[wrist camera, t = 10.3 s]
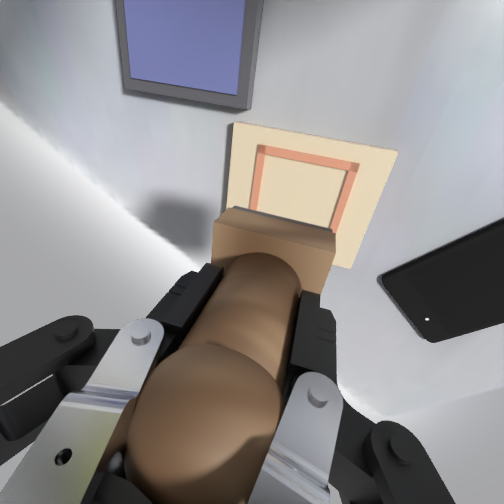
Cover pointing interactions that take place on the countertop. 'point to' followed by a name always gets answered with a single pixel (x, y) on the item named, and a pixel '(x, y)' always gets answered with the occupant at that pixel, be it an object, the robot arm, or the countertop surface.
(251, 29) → the ink pad
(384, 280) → the cell phone
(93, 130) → the countertop surface
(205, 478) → the stamp
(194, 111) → the countertop surface
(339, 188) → the board
